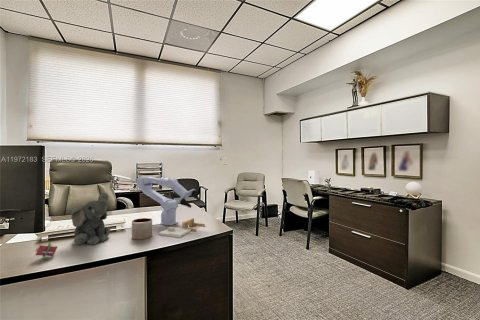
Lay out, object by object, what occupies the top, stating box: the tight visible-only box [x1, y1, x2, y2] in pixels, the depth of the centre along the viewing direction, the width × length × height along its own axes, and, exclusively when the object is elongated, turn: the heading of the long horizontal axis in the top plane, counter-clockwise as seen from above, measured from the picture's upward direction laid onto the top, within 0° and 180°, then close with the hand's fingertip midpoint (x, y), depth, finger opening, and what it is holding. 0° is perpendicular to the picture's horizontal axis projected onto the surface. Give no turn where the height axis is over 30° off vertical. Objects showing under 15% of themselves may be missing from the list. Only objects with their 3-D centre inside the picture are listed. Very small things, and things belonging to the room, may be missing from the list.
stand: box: [158, 226, 192, 238], centre depth 139 cm, size 14×12×3 cm
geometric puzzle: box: [35, 241, 58, 260], centre depth 104 cm, size 7×7×8 cm
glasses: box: [181, 217, 206, 232], centre depth 150 cm, size 10×12×4 cm
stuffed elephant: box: [70, 192, 111, 245], centre depth 127 cm, size 19×21×27 cm
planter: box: [131, 217, 153, 241], centre depth 133 cm, size 11×11×10 cm
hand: (195, 203), depth 151 cm, fingers open, 7 cm apart
